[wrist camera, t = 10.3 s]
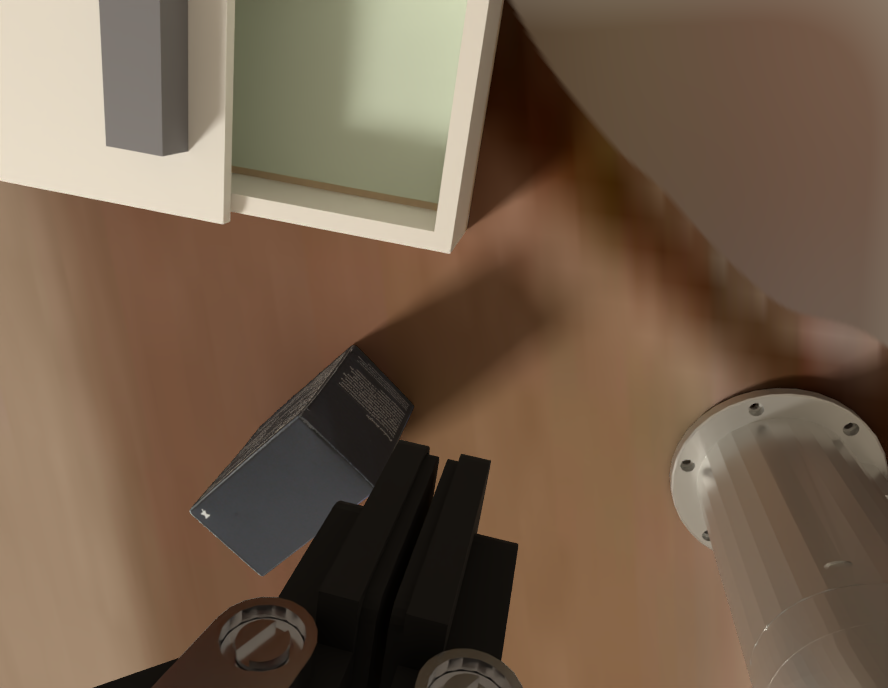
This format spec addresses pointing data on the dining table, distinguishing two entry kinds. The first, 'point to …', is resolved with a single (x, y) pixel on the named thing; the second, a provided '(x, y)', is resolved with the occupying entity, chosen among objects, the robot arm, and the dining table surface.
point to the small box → (306, 462)
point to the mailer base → (362, 114)
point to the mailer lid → (120, 101)
